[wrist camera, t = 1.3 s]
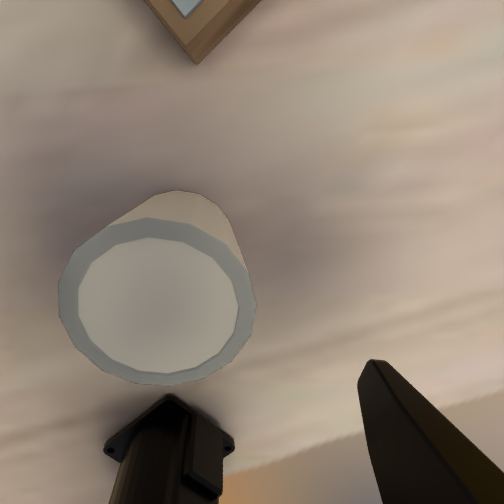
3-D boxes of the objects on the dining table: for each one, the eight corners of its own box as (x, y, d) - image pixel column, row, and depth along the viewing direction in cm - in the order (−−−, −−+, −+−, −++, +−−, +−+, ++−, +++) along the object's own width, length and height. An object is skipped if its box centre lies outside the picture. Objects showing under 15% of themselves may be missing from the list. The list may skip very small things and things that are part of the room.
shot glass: (88, 246, 18) (14, 320, 12) (172, 148, 17) (139, 172, 10) (189, 319, 20) (173, 416, 14) (271, 238, 19) (296, 305, 12)
